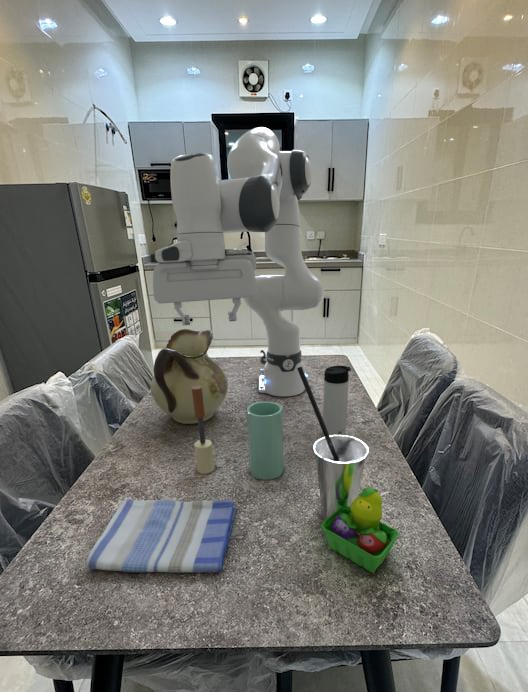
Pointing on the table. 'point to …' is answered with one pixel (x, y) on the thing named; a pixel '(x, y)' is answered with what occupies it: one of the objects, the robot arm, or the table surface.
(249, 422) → the vase
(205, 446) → the bottle brush
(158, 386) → the pitcher
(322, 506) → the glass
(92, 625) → the table surface
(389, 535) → the fruit basket
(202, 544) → the dish towel
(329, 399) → the travel mug
